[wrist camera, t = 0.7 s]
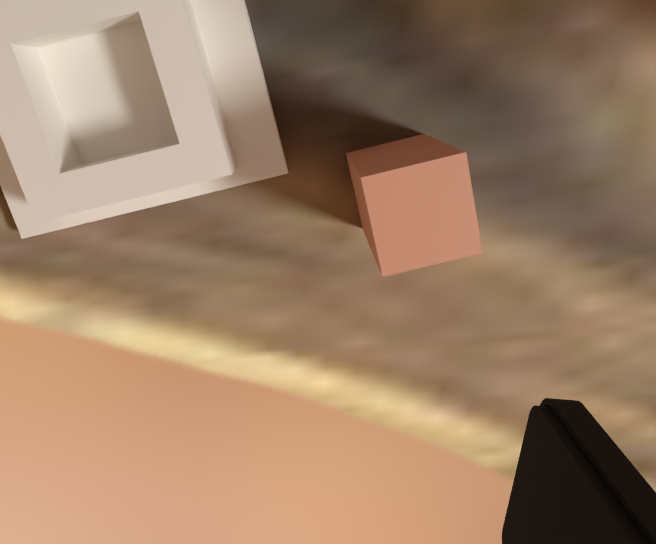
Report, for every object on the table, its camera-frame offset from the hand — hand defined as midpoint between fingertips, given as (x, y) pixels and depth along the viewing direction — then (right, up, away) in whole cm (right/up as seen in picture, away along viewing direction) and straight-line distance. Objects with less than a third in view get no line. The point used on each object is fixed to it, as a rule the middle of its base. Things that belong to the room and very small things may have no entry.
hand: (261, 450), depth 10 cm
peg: (+5, +8, +23) cm, 25 cm away
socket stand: (-11, +16, +20) cm, 28 cm away
